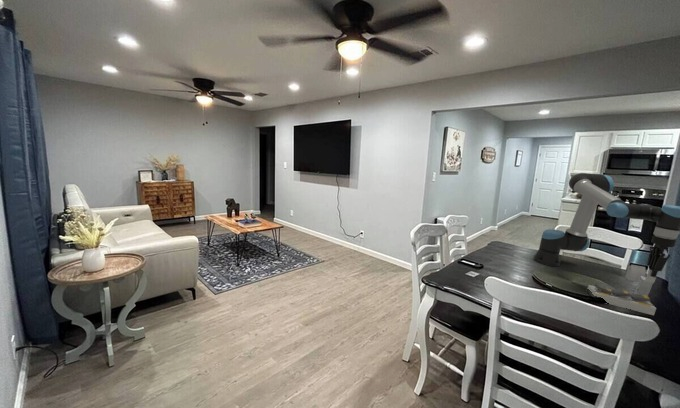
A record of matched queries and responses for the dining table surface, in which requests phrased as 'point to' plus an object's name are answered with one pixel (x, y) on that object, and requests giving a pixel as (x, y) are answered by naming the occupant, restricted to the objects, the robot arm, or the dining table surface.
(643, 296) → the rocker
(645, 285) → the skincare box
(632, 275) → the grey box
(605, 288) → the rocker
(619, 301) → the switch unit
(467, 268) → the dining table surface
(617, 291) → the rocker
